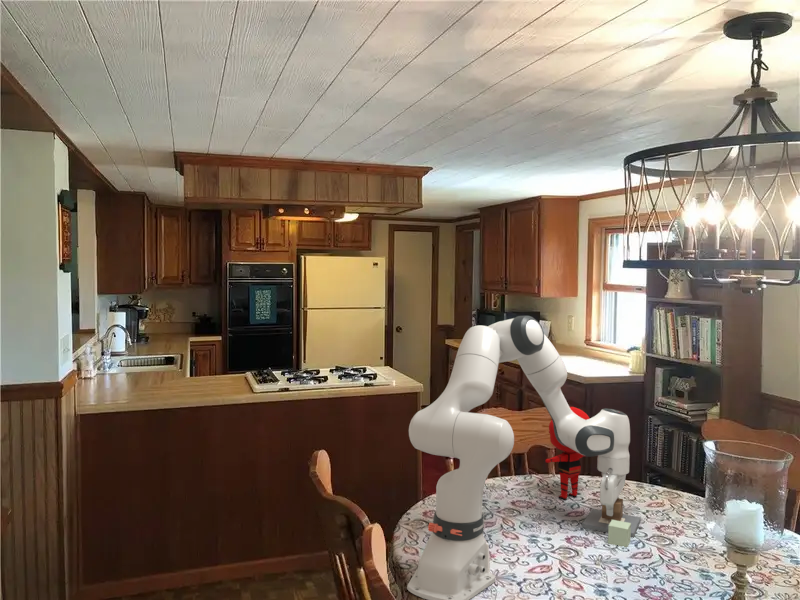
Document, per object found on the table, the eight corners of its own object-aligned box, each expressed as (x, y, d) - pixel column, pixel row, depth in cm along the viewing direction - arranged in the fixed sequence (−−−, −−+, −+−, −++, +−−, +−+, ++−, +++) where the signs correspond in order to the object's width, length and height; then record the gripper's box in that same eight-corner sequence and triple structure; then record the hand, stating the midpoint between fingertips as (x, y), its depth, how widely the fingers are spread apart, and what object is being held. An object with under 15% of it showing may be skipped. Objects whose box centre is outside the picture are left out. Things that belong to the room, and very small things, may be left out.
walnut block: (619, 521, 179) (620, 504, 179) (601, 518, 181) (602, 501, 181) (622, 515, 183) (623, 499, 183) (605, 512, 186) (605, 496, 185)
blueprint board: (633, 537, 173) (633, 533, 173) (582, 527, 180) (582, 523, 180) (640, 521, 185) (640, 516, 185) (592, 512, 192) (592, 508, 192)
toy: (575, 487, 216) (577, 400, 215) (608, 498, 204) (610, 407, 203) (531, 498, 204) (532, 406, 203) (562, 511, 192) (565, 414, 192)
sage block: (627, 547, 167) (627, 529, 166) (608, 543, 169) (608, 525, 169) (630, 541, 171) (630, 523, 171) (611, 537, 173) (611, 519, 173)
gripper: (618, 475, 171) (617, 525, 172) (629, 458, 189) (628, 503, 190) (594, 472, 174) (593, 521, 175) (608, 455, 192) (607, 499, 193)
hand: (612, 511), depth 182 cm, fingers closed on walnut block, 5 cm apart
